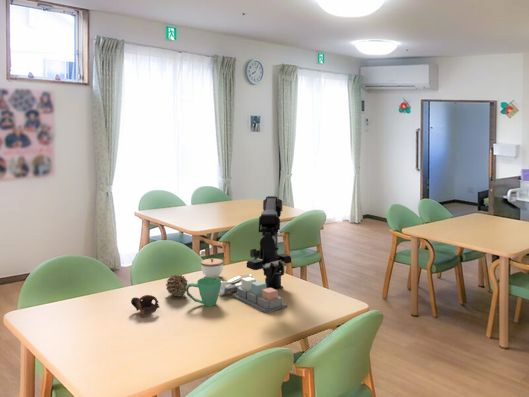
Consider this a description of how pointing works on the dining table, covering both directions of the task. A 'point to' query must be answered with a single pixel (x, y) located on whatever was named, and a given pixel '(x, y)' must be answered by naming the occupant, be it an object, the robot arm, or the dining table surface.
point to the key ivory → (247, 283)
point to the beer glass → (232, 284)
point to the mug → (206, 290)
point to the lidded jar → (212, 267)
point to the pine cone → (176, 285)
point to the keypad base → (259, 301)
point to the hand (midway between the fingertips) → (269, 282)
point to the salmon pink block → (269, 293)
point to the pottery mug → (145, 304)
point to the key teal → (257, 287)
